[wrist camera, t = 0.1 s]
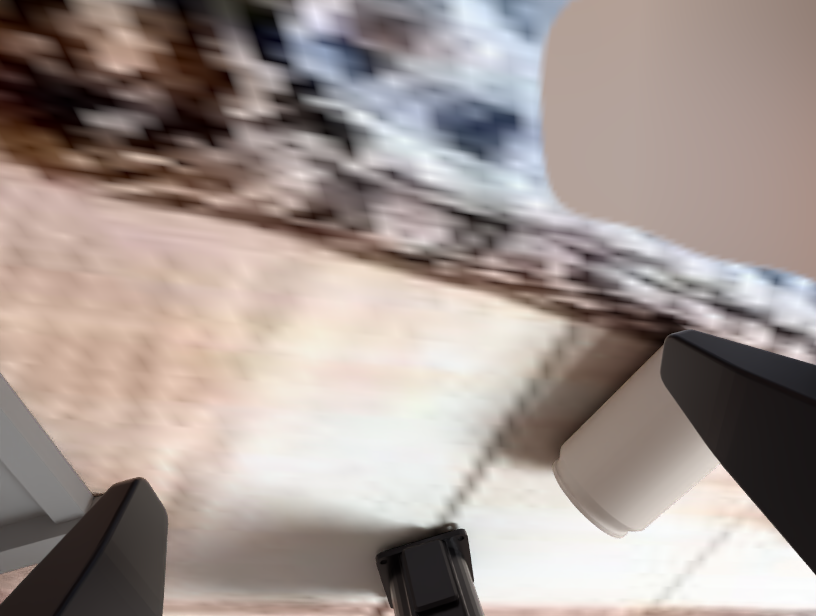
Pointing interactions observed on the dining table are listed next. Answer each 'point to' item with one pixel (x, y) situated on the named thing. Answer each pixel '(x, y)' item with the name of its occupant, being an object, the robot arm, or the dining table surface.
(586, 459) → the beverage can
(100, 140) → the dining table surface
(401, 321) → the dining table surface
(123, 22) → the dining table surface
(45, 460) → the tray
